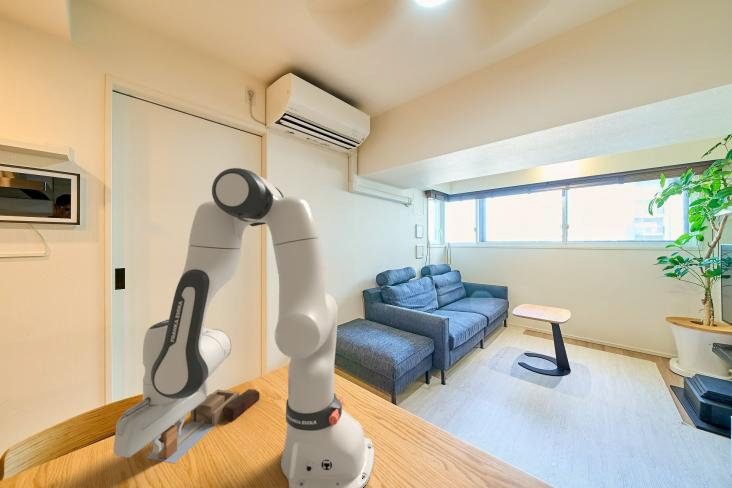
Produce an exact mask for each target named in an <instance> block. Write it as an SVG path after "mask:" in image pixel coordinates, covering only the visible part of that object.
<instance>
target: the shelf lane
mask: <svg viewBox="0 0 732 488" xmlns="http://www.w3.org/2000/svg"><path fill="white" fill-rule="evenodd" d="M211 394H215V395H222V396H225V402H224V403H223V404H222V405H221V406H219V407H218V408H217V409H216V410H215V411H213V412H212V424H207V423H204V424H203V425H202V426H201V427H199V428H198V429H197V430H196V431H195V432H194V433H192V434H191V435H190V436H189V437H188V438H187V439H185V440H184V441H183V442H182V443H181V444H179V445H178V446H177V450H176V451H175V452H174V453H173V454H172V455H171V456H169V457H168V458H167V459H165V458H160V457H158V453H155V452H153V451H152V453H151V454H149V455H148V456H147V457H146V459H149V460H153V461H155V460H156V461H160V462H164V463H165V462H166V463H170V464H176V463H177V462H178V461H179V460H180V459H181V458H182V457H184V455H185V454H186V453H188V452H189V451H190V450H191V449H192V448H193V447H194V446H196V444H198V443H199V441H201V439H203V438H204V436H206V435H207V434H208V433H209V432H210V431H211V430H212V429H213V428H215V426H217V425H218V424H219V423H220V422H221V421H222V420H224V419H223V409H224V406H225V405H227V404H228V403H229V402H231V401H232V400H234V399H235V398H237V397H238V396H239V395H240V392H239V391H234V390H226V389H219V388H218V389H216V390H215V391H213V392H212V393H211ZM199 423H200V422H196V408H195V409H193V410H192V411H191V412H190V422H189V423H187V424H186V425H184V427H182V428H181V435H179V436H178V437H177V441H178V440H179V439H181V438H182V437H183V436H184V435H185V434H187V433H188V432H189V431H190V430H191V429H193V428H194V427H195V426H196V425H197V424H199Z"/></svg>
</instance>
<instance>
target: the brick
mask: <svg viewBox="0 0 732 488" xmlns="http://www.w3.org/2000/svg"><path fill="white" fill-rule="evenodd" d="M259 400H260V392H259V391H258V390H256V389H253V388H249V389H247V390H245V391H243V392H242V393H241V394H239V396H238V397H237V398H235V399H234V400H232V401H231V402H229V403H228V404H227V405H225V406H224V409H223V419H222V420H226V421H230V422H233V421H235V420H237V419H239V417H240V416H242V415H243V414H244V413H245V412H247V411H248V410H249V409H250V408H251V407H253V406H254V405H255V404H256V403H257V402H259Z"/></svg>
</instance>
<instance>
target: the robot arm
mask: <svg viewBox="0 0 732 488" xmlns="http://www.w3.org/2000/svg"><path fill="white" fill-rule="evenodd" d="M211 195H212V199H213V200H212V201H211V200H210V201H206V202H204V203H202V204H200V205H199V206H198V207H197V209H196V211H195V215H194V217H193V220H192V223H191V229H190V234H189V237H188V238H189V240H188V248H187V254H186V255H187V256H186V260H185V264H184V268H183V271H182V274H181V277H180V278H179V281H178V283H177V286H176V289H175V292H174V296H173V300H172V305H171V309H170V314H169V318H168V319H165V320H162V321H160V322H157V323H155V324H153V325H151V326H150V327H148V329H147V330H146V332H145V334H144V338H143V347H142V364H143V367H144V375H143V379H142V400H141V401H140V402H138V403H136V404H135V405H134V406H131V407H129V408H128V409H126V410H125V411H124V412H123V414H122V415H121V416H120V417H119V418H118V420H117V421H116V424H115V435H114V441H113V451H112V452H113V454H114V455H115V456H117V457H120V458H131V457H133V456H134V455H135V454H136V453H138V452H139V451H140V450H142V449H143V448H144V447H146V446H147V445H148V444H151V445H152V453H153V452H155V453H159V452H160V451H161V450H162V449H164V448H165V441H161V440H158V439H159V438H160V437H161V433H163V432H164V431H165V430H167V429H168V428H169V427H171V426H172V425H176V426H177V437H178V436H179V435H181V429H183V425H184V423H185V420H186V415H188V414H189V413H191V411H192V410H193V409H195V408H196V407H197V406H199V405H200V404H201V403H203V402H204V401H205V399H206V397H207V396H208V391H209V390H208V380H207V379H208V378H209V377H210V376H211V375H212V374H213V373H214V372H215V371H216V370H217V369H218V368H219V367H220V366H221V365H222V364H223V363H224V362H225V360H226V359H227V358H228V357H229V356H230V354H231V351H232V342H231V339H230V337H229V336H228V334H226V332H225V331H223V330H221V329H218V328H207V327H204V326H205V323H206V317H207V311H208V309H209V308H208V307H209V305H210V303H211V301H212V299H213V298H214V297H215V295H216V294H217V293H218V292H219V290H220V289H221V288H223V286H225V284H226V283H228V282H229V281H230V280H232V278H233V277H234V276H235V274H236V272H237V270H238V267H239V264H240V262H241V261H240V260H241V250H242V249H241V248H242V241H243V234H244V231H245V230H246V228H247V227H248V226H251V227H257V226H262V225H267V227H268V230H269V232H270V234H271V235H270V236H271V240H272V246H273V252H274V256H275V263H276V268H277V275H278V317H277V318H278V319H277V322H276V323H277V324H276V326H275V328H274V329H275V330H274V342H275V345H276V346H277V348H278V350H279V351H280V352H281V354H283V355H284V356H286V357H287V358H290V361H289V363H288V369H287V399H286V403H285V404H286V405H285V407H286V408H285V421H286V435H285V442H284V446H283V451H282V454H281V458H280V468H281V471H282V473H283V474H284V476H285V477H286V480H287V481H288V488H363V487H364V486H365V485H366V486H367V484H368V483H369V481H370V479H371V476H372V473H373V469H374V462H375V447H374V444H373V442H372V440H371V438H370V437H367V436H365V431H364V429H363V427H362V425H361V423H360V422H359V421H358V420H356V419H355V418H353V417H352V416H351V415H350V414H348V412H346V411H345V410H344V409H343V407H342V405H343V403H344V396H343V395H342V396H340V397H341V398H340V399H338V397H337V395H336V393H335V358H336V348H337V347H336V346H337V339H338V338H337V335H338V320H339V319H338V316H339V307H338V303H337V301H336V299H335V298H334V296H332V294H329V293H328V292H326V283H325V282H326V280H325V277H326V275H325V274H326V267H325V261H324V257H323V256H324V255H323V251H322V245H321V240H320V235H319V232H318V227H317V224H316V220H315V217H314V214H313V212H312V210H311V206H310V205H309V203H308V202H307V201H306V200H305V199H303V198H301V197H297V196H286V197H285V196H284V195H283V193H282V192H281V190H280V189H279V188H277V187H276V186H275V185H273V184H272V183H271V182H270V181H269V180H267V179H266V178H264V177H262V176H260V175H258V174H257V173H255V172H253V171H252V170H248V169H245V168H240V167H231V168H227V169H224V170H223V171H221V172H219V174H218V175H217V176H216V177H215V178H214V180H213V183H212V185H211ZM371 472H372V473H371ZM370 475H371V476H370ZM362 478H363V479H362ZM369 478H370V479H369ZM368 480H369V481H368ZM367 482H368V483H367ZM366 486H365V487H366ZM365 487H364V488H365Z"/></svg>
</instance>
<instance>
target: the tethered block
mask: <svg viewBox="0 0 732 488" xmlns="http://www.w3.org/2000/svg"><path fill="white" fill-rule="evenodd" d="M224 402H225V396H222V395H215V394H212V393H209V394H207V397H206V399H205V401H204V402H203V403H201V404H200V405H199V406H197V407H196V422H200V423H199V424H197V425H196V426H195V427H194V428H193V429H191V430H190V431H189V432H188V433H187V434H185V435H184V436H183V437H182V438H181V439H179V440H178V441H177V426H176V425H174V424H173V425H172V426H171V427H169V428H168V429H167V430H165V431H164V432H163V433H161V437H160V438H159V439H158V440H161V441H165V448H164V449H162V450H161V451H160V452H159V453H158V457H160V458H165V459H167V458H168V457H169V456H171V455H172V454H173V453H174V452H175V451H176V450H177V446H178V445H179V444H181V443H182V442H183V441H184V440H185V439H187V438H188V437H189V436H190V435H191V434H192V433H194V432H195V431H196V430H197V429H198V428H199V427H201V426H202V425H203V424H204V423H207V424H212V412H213V411H215V410H216V409H217V408H218V407H219V406H221V405H222V404H223V403H224Z"/></svg>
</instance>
